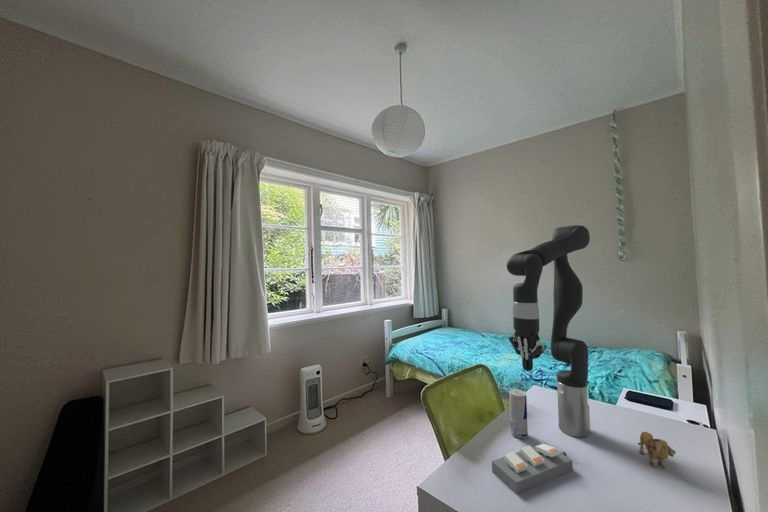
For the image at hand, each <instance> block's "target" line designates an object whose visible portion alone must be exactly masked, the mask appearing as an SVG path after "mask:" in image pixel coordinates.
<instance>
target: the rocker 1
mask: <svg viewBox="0 0 768 512" xmlns="http://www.w3.org/2000/svg"><path fill="white" fill-rule="evenodd" d="M516 453H517V452H515V451H514V450H512V451H509V452H507V453H504V454H503V458H504V459H505V460H506V461H507V462H508V463H509V464H510V467H511V468H513V469H514V470H515V471H516V472H517V473H519V472H522V471H525V470H527V467H528V466H527V465H526V464H525V463H524V461H523V460H522V459H521V458H520V457H519V456H518V455H517V454H516Z"/></svg>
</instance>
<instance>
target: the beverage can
mask: <svg viewBox="0 0 768 512" xmlns="http://www.w3.org/2000/svg"><path fill="white" fill-rule="evenodd" d="M508 393H509V395H508V396H509V423H510V424H509V426H510V427H509V428H510V429H509V430H510V434H511V435H512V436H514V437H515V438H518V439H525V438H527V437H528V435H529V434H528V433H529V431H528V403H527V402H528V401H527V399H528V397H527V393H526V392H525V391H524V390H521V389H515V388H512V389H510V390H509V391H508Z"/></svg>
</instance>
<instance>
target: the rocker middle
mask: <svg viewBox="0 0 768 512" xmlns="http://www.w3.org/2000/svg"><path fill="white" fill-rule="evenodd" d="M532 447H533V446H531V445H527V446H523V447H521V448H520V449H519V451H520V452H521V453H522V454H523V455H524V456H525V457H526V460H527V461H529V462H530V463H531V464H532V465H533V466H534V467H536V466H538V465H541V464H543V463H544V459H543V458H542V457H541V456H540V455H539V454H538V453H537V452H536V451H535V450H534V449H533V448H532Z"/></svg>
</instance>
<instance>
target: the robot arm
mask: <svg viewBox="0 0 768 512" xmlns="http://www.w3.org/2000/svg"><path fill="white" fill-rule="evenodd" d="M551 237H552V238H551V240H548V241H545V242H543V243H540V244H538V245H536V246H534V247H532V248H529V249H526V250H523V251H520V252H517V253H514V254H512V255H511V256H510V257H509V258H508V259H507V261H506V270H507V271H508V272H509V273H510V274H511V275H512V276H516V277H519V276H520V277H521V276H522V277H525V278H524V281H523V282H519V283H516V284H514V285H513V289H512V290H513V291H512V292H513V293H512V295H513V296H512V297H513V302H512V303H513V305H512V317H513V318H512V320H513V322H512V323H513V330H514V335H513V336H511V337H509V338H508V341H509V342H510V344H511V345H512V348H513V349H514V351H515V353H516V354H517V355H519V356H520V358H521V363H522V364H521V365H522V370H524V371H525V372H531V371H532V370H533V368H534V360H536V359H539V357H541V355H542V354H543V353H544V352H545V350H546V349H547V345H546V344H543V343H542V342H541V341H540V340H541V339H540V338H541V337H540V335H539V333H540V309H539V303H538V301H539V300H538V288H539V283H540V280H541V276H542V273H543V267H545V266H547V265H549V264H551V262H553V270H554V271H553V318H552V319H553V321H552V330H551V337H550V354H551V357H552V359H554V360H555V361H558V362H562V363H565V364H567V365H570V369H569V370H568V369H567V370H560V371H558V372H557V373H556V386H557V387H556V388H557V411H558V412H557V413H558V414H557V415H558V428H559V430H560V431H561V432H562V433H564V434H567V435H568V436H570V437H575V438H587V437H588V436H590V433H591V421H590V420H591V417H590V405H589V400H588V399H589V398H588V377H589V349H588V345H587V344H586V342H585V341H584V340H582V339H581V340H580V339H575V338H572V337H571V338H570V337H567V332H568V326H569V324H570V322H571V320H572V319H573V317H574V316H575V315H576V314H577V313H578V311H579V310H580V308H581V307H582V305H583V299H584V298H583V294H584V293H583V292H584V291H583V290H584V289H583V284H582V282H581V280H580V278H579V277H578V275H577V274H576V272H574V270H573V268H572V266H571V265H570V262H569V258H568V254H570V253H573V252H576V251H579V250H583V249H585V248H586V247H588V245H589V244H590V242H591V241H590V240H591V234H590V231H589V229H588V228H587V227H585V226H584V225H579V224H578V225H577V224H576V225H567V226H560V227H556V228H554V230H553V233H552V236H551Z"/></svg>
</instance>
